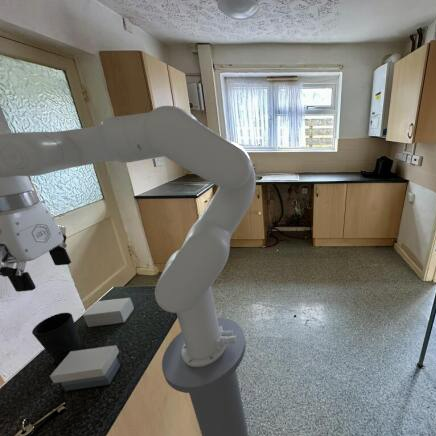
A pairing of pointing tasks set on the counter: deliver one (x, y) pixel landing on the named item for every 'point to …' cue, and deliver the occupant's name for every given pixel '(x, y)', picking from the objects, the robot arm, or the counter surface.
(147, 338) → the counter surface
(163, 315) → the counter surface
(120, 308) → the white book
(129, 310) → the white book
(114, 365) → the blue-grey flat block
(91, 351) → the flat grey box
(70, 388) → the blue-grey rectangular block
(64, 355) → the cup
